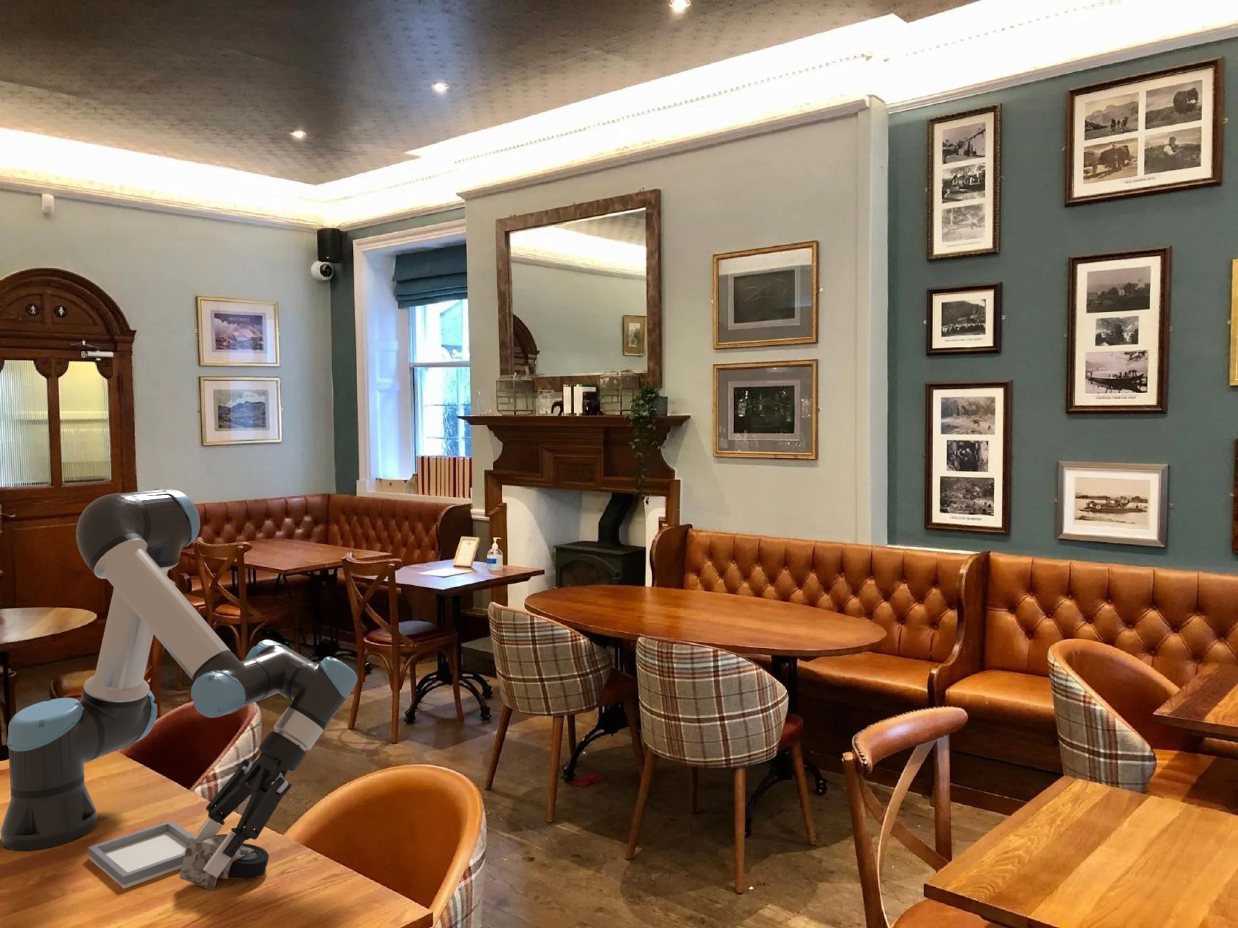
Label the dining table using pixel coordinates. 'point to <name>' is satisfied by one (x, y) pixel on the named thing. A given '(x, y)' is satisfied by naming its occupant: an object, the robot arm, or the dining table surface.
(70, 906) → the dining table surface
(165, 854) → the shallow rectangular tray
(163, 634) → the robot arm
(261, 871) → the caster wheel
